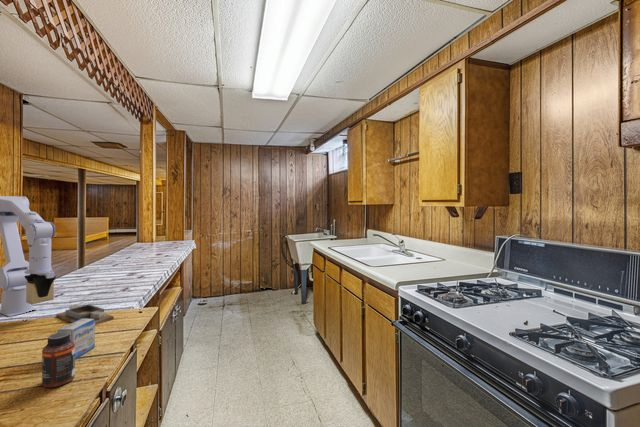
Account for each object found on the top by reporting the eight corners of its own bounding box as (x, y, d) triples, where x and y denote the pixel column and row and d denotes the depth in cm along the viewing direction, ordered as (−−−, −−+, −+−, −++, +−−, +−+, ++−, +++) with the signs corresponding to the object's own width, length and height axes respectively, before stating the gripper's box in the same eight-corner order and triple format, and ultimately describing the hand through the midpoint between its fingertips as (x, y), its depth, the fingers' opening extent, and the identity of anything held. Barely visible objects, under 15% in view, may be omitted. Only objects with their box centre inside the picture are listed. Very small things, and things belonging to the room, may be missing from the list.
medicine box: (72, 361, 81) (73, 329, 81) (56, 360, 82) (56, 328, 81) (95, 347, 89) (95, 318, 89) (80, 346, 89) (80, 317, 89)
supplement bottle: (81, 375, 75) (81, 330, 75) (58, 390, 69) (58, 341, 69) (59, 373, 76) (59, 328, 75) (34, 387, 70) (35, 339, 70)
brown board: (56, 316, 110) (56, 308, 110) (84, 309, 118) (84, 301, 118) (85, 327, 102) (85, 319, 102) (113, 319, 110) (113, 310, 110)
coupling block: (26, 302, 104) (26, 282, 104) (47, 297, 110) (47, 278, 110) (31, 304, 103) (31, 284, 102) (53, 299, 108) (53, 280, 108)
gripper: (15, 256, 105) (15, 295, 106) (36, 261, 99) (35, 302, 99) (40, 253, 112) (40, 290, 112) (61, 258, 105) (61, 296, 106)
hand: (40, 295), depth 106 cm, fingers closed on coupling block, 4 cm apart
